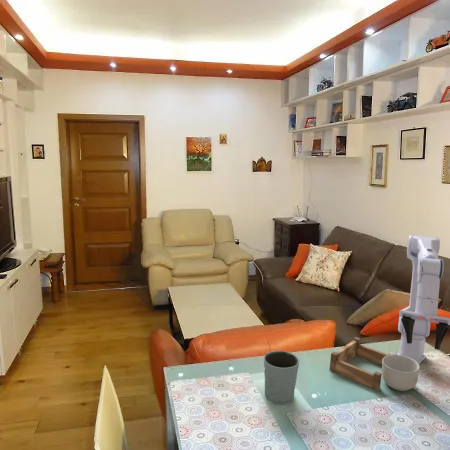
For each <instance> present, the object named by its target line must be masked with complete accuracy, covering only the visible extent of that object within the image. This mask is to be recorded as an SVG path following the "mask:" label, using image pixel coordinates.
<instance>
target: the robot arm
mask: <svg viewBox="0 0 450 450" xmlns="http://www.w3.org/2000/svg"><path fill="white" fill-rule="evenodd" d="M440 244H441V239H440V238H439V237H437V236H436V237H433V236H424V235H423V236H422V235H413V234H410V235H409V236H408V238H407V245H406V246H407V247H406V258H407V259H408V260H410V261H411V263H412V274H411V276H412V277H411V284H410V296H409V305H408V306H406V307H405V308H403V309H400V310H399V312H398V324H397V325H398V326H397V327H398V328H397V330H398V332H399V333H401V337H400V343H399V344H400V345H399V351H398V353H396V354H397V355H402V356H406V357H409V358H411V359H413V360H415V361H416V362H417V363H418V364H419V365H420V364H421V363H422V362H423V361H424V360H425V359H426V358H427V355H426V354H424V352H425V348H426V347H425V345H426V338H428V336H430V331H431V323H435V342H434V350H437V351H438V350H440V349H441V346H442V345H441V344H442V343H443V340H444V338H445V336H446V334H447V333H448V331H449V330H450V317H445V316H441V315H437V314H438V306H439V295H440V286H441V285H440V284H441V282H440V281H441V279H442V277H443V274H444V260H443V258H439V253H440V248H441V247H440V246H441V245H440Z"/></svg>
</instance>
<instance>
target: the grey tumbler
mask: <svg viewBox="0 0 450 450" xmlns="http://www.w3.org/2000/svg"><path fill="white" fill-rule="evenodd" d="M299 364H300V359H299V358H298V356H297V355H296V354H294V353H291V352H290V351H284V350H273V351H269V352H267V353H266V354H265V355H264V357H263V366H264V371H263V372H264V396H265V398H266V399H267V401H269V402H271V403H273V404H276V405H286V404H290V403H291V402H292V401H293V400H294V397H295V389H296V386H297V385H296V383H297V378H298V377H297V376H298V370H299Z"/></svg>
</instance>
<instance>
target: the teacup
mask: <svg viewBox="0 0 450 450" xmlns="http://www.w3.org/2000/svg"><path fill="white" fill-rule="evenodd" d="M387 354H388V356H385V357H384V358H383V359H382V365H381V373H382V376H381V378H382V380H383V381H384V383H385V384H386V385H388V386H389V387H390V388H391V389H393V390H396V391H398V392H400V391H401V392H407V391H410V390H411V389H414V388H415V387H416V386H417V383H418V380H419V373H420V372H419V371H420V366H421V365H420V364H418V363H417V362H416V361H415V360H413V359H411V358H409V357H406V356H402V355H396V353H395V352H394V351H391V352H388V353H387Z"/></svg>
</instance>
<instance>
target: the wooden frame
mask: <svg viewBox="0 0 450 450" xmlns="http://www.w3.org/2000/svg"><path fill="white" fill-rule="evenodd" d="M388 354H389V353H385V352H382V351H380V350H376V349H374V348H371V347H369V346H366V345H365V344H361V338H360V337H357V336H355V337H353V339H352V340H351V341H350V342H349V343H347V344H346V345H344V346H343V347H342V348H340V349H339V350H337V351H332V352H331V353H330V360H329V361H330V362H329V371H332V372H334V373H337V374H339V375H342V376H344V377H346V378H349V379H351V380H353V381H356V382H357V383H360V384H363V385H366V386H367V387H369V388H371V389H373V390H375V391H379V390H380V388H381V383H382V382H381V381H382V372H379V371H374V373H372V372H370V371H368V370H365V369H363V368H360V367H358V366H355V365H353V364H350V363H348V362H349V361H350V360H351V359H353V358H355V357H356V356H357V357H359V358H363V359H365V360H368V361H371V362H373V363H376V364H377V365H381V366H382V359H383V358H384V357H385V356H388ZM397 354H398V353H395V355H397Z"/></svg>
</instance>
